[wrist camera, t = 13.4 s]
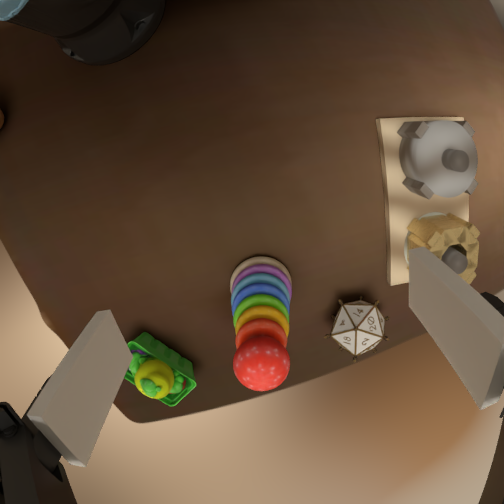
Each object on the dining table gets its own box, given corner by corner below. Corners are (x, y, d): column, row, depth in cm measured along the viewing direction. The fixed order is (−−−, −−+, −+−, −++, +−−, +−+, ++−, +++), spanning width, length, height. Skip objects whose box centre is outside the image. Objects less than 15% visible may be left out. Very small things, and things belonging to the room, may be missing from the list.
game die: (334, 295, 48) (322, 290, 39) (390, 296, 44) (392, 291, 35) (330, 354, 46) (317, 363, 37) (386, 356, 43) (387, 367, 34)
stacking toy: (221, 266, 42) (198, 356, 25) (279, 245, 41) (294, 326, 24) (244, 315, 45) (237, 417, 27) (298, 297, 44) (321, 394, 26)
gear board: (375, 119, 35) (406, 115, 27) (457, 117, 34) (497, 117, 26) (387, 281, 43) (412, 312, 34) (460, 265, 42) (493, 291, 33)
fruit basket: (120, 349, 48) (95, 396, 37) (145, 315, 45) (119, 362, 35) (178, 387, 50) (164, 437, 39) (208, 357, 47) (197, 410, 37)
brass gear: (406, 276, 41) (424, 296, 35) (406, 218, 38) (427, 232, 32) (453, 266, 40) (475, 283, 34) (455, 211, 37) (480, 223, 32)
